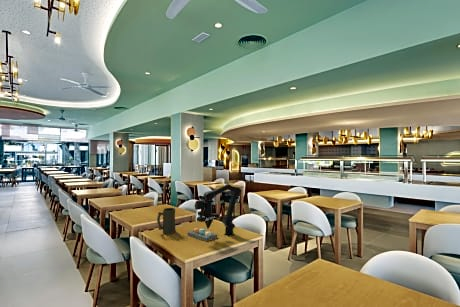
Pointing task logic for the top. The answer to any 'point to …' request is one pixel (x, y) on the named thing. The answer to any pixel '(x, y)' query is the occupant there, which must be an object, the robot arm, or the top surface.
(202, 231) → the button teal
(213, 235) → the console
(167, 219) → the beer stein
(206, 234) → the button cream
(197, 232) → the button orange
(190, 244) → the top surface
